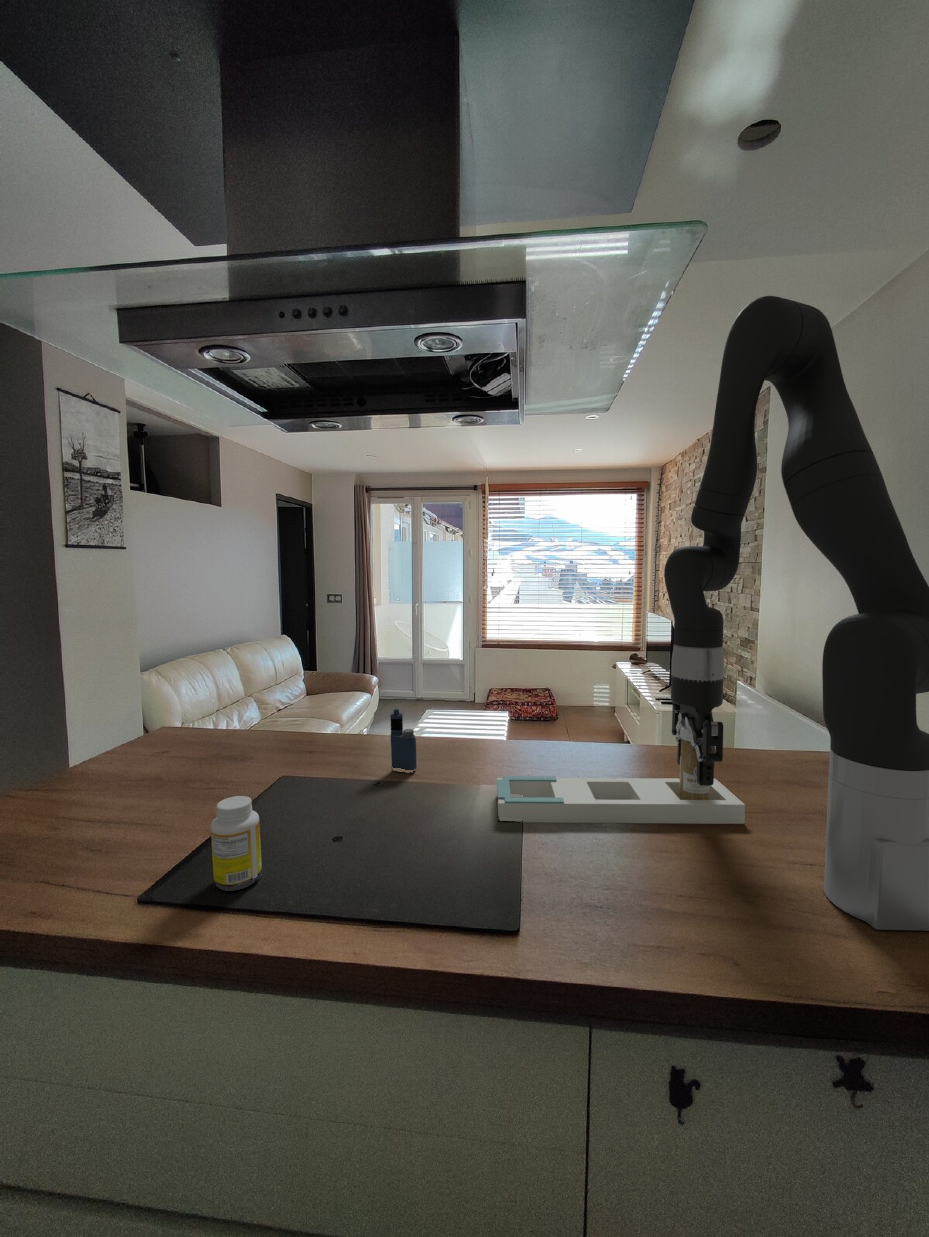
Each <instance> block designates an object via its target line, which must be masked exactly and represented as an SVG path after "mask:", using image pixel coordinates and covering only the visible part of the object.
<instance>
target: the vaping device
mask: <svg viewBox="0 0 929 1237" xmlns="http://www.w3.org/2000/svg"><path fill="white" fill-rule="evenodd" d="M403 716H404V715H403V713H400V709H399V708H395V709H393V713H390V716H389V717H390V748H391V750H390V752H391V753H390V754H391V755H390V756H391V758H390V759H391V768H392V767H393V768H401V769H405V770H414V769H416V770H417V768H418V767H417V738H416V735H415V733H414V729H413V728H412V729H411V728H407V729H406V728H405V729H404V727H403V726H404V724H403V723H404V722H403Z"/></svg>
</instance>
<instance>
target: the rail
mask: <svg viewBox="0 0 929 1237" xmlns="http://www.w3.org/2000/svg"><path fill="white" fill-rule="evenodd" d="M679 784H680V778H676V777H675V778H673V777H672V778H671V777H670V778H659V777H658V778H657V777H656V778H655V777H654V778H653V777H650V778H639V777H638V778H636V777H634V778H633V777H632V778H631V777H629V778H626V777H624V778H623V777H622V778H621V777H617V778H615V777H614V778H611V777H610V778H609V777H607V778H606V777H601V778H600V777H598V778H597V777H589V778H588V777H585V778H584V777H569V778H568V777H557V776H554V775H553V776H549V775H545V776H544V775H543V776H542V775H539V776H538V775H537V776H536V775H535V776H534V775H533V776H531V775H529V776H526V775H524V776H523V775H520V776H519V775H516V776H514V775H510V776H509V775H505V776H503V775H502V777H496V795H497V797H498V802H497V815H498V816H499V817H506V818H518V819H519V818H521V819H522V820H523V822H522V823H553V824H554V823H558V824H559V823H567V824H568V823H569V824H570V823H571V824H572V823H573V824H574V823H576V824H577V823H578V824H579V823H581V824H583V823H584V824H590V823H591V824H698V825H699V824H708V825H709V824H712V825H713V824H716V825H719V824H720V825H721V824H723V825H727V824H728V825H730V824H732V825H744V824H745V820H746V819H745V818H746V817H745V814H746V804H745V803H744V802H743V801H742V800H741V799H739V798H738V797H737V796H735V795H734V793H732V792H731V791H730V790H729V789H728V788H727V787H726V786H725V785H723V784H722V783H721V782H720V781H719V780H717V779H716V778H714V782H713V785H711V786H710V788H709V800H680V787H679ZM511 794H518V795H519V794H520V795H523V797H511ZM497 797H496V798H497ZM498 816H497V817H498Z"/></svg>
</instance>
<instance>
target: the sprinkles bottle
mask: <svg viewBox="0 0 929 1237" xmlns="http://www.w3.org/2000/svg"><path fill="white" fill-rule="evenodd" d="M680 737H681V756H680V765H679V779H680V784H679V787H680V800H709V788H710V786H701V785H699V784H698V783H697V760H698V758H697V753H696V749H695V747H693V746H692V745H691V741H690V736H689V731H688V729H687V728H686V725H682V726H681V727H680ZM697 739H698V740H703V738H697ZM702 752H703V747H702Z"/></svg>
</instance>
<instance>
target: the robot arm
mask: <svg viewBox="0 0 929 1237" xmlns="http://www.w3.org/2000/svg"><path fill="white" fill-rule="evenodd" d="M723 349H724V350H723V354H722V355H723V356H722V361H721V367H720V372H719V373H720V374H719V383H718V390H717V394H716V395H717V396H716V402H715V409H714V418H713V425H712V431H711V432H712V434H711V440H710V445H709V451H708V455H707V459H706V463H705V468H704V472H703V475H702V478H701V481H700V483H699V488H698V490H697V494H696V498H695V501H694V505H693V507H692V512H691V515H690V521H691V525H693V527H694V528H696V529H698V530H700V531H702V532H703V543H702V545H683V546H680V547H677V548H676V549H674V550H673V551H672V552H671V553H670V554H669V556H668V558H667V560H666V562H665V564H664V572H663V573H664V574H663V575H664V576H663V577H664V583H665V589H666V591H667V592H666V593H667V596H668V600H669V603H670V609H671V612H672V616H673V620H674V623H673V625H674V626H673V650H672V655H671V671H670V673H671V674H670V676H671V677H670V680H671V681H670V683H671V684H670V700H671V701H672V707H671V708H672V712H671V715H672V716H671V734H672V736H675V742H676V743H677V748H676V749H677V752H676V753H677V754H676V755H677V756H676V759H677V760H676V762H677V764H678V765H679V766H680V756H681V737H680V727H681V726H682V725H686V728H687V729H688V731H689V736H690V741H691V745H692V746H693V747H695V749H696V753H697V758H698V760H697V783H698V784H699V785H701V786H711V785H713V782H714V779H715V778H714V777H715V776H714V774H715V763H722V762H723V760H724V758H723V757H724V756H723V755H724V723H723V721H714V717H713V710H714V709H715V708H719V707H721V706H722V705H723V701H724V675H725V674H724V672H725V658H724V650H723V648H724V647H723V646H724V644H723V643H724V616H723V613H722V612H721V610H719V609H717V608H714V607H711V606H708V604H707V600H706V596H705V592H716V591H720V590H723V589H725V588H726V587H728V585H730V583H731V582H732V581H733V580H734V578H735V576H736V574H737V571H738V568H739V565H740V557H741V544H742V524H743V521H744V518H745V515H746V512H747V509H748V508H749V507H748V506H749V503H750V501H751V499H752V498H751V497H752V494H753V492H754V488H755V484H756V480H757V474H758V456H757V455H758V453H757V445H756V444H757V443H756V432H755V431H756V430H755V429H756V428H755V425H756V424H755V423H756V412H757V411H756V410H757V405H758V400H759V397H760V393H761V390H762V388H763V385H764V382H765V381H767V382H770V383H771V384H772V385H773V386H774V388H775V389H776V391H777V394H778V395H779V397H780V400H781V403H782V405H783V407H784V410H785V413H786V416H787V417H786V418H787V420H788V421H787V423H788V432H787V435H786V436H787V437H786V440H785V445H784V448H783V453H782V459H781V465H780V466H781V467H780V468H781V470H780V472H781V479H782V483H783V487H784V490H785V493H786V496H787V499H788V501H789V504H790V508H791V510H792V514H793V516H794V518H795V520H796V522H797V524H798V525H799V528H800V529H801V530H802V532H803V533H804V535H805V536H806V537H807V538H808V539H809V540H810V542H811V543H812V544H813V545H814V546H815V548H816V549H817V550H818V551H819V552H820V553H821V554H822V555H823V556H824V557H825V558H826V559H827V560H828V561H829V562H830V563H831V565H833V567H834V568H835V569H836V571H837V572H838V573H839V574H840V575H841V577H842V578H843V580H844V582H845V583H846V585H847V587H848V588H849V591H850V594H851V595H852V599H853V601H854V604H855V607H856V609H857V610H856V611H857V613H855V614H852V615H849V616H846V617H844V618H843V619H841V620H840V621H838V622H837V623H836V624H835V625H834V626H833V627H832V628H831V630H830V631H829V633H828V635H827V637H826V640H825V643H824V646H823V652H822V662H821V663H822V666H821V668H822V669H821V672H822V674H821V675H822V676H821V677H822V679H821V680H822V681H821V682H822V715H823V720H824V724H825V726H826V730H827V731H828V734H829V738H830V741H829V742H830V746H829V747H830V748H829V765H828V767H829V768H828V783H827V784H828V788H827V806H826V807H827V810H826V833H825V834H826V835H825V851H824V853H825V855H824V879H823V880H824V883H823V884H824V885H823V891H824V894H825V896H826V897H827V900H829V901H830V902H831V903H833V904H834V906H836V907H837V908H839V909H840V910H842V911H843V912H845V913H847V914H848V915H850V916H852V917H854V918H857V919H858V920H862V921H863V922H866V923H867V924H869V926H871V927H872V929H874V930H879V931H928V932H929V733H928V732H926V731H924V730H922V729H920V728H919V725H918V721H917V720H918V719H917V695H919V694H924V693H928V692H929V584H928V583H927V581H926V579H925V578H924V575H923V573H922V571H921V570H920V567H919V566H918V563H917V561H916V559H915V557H914V555H913V552H912V550H911V547H910V544H909V541H908V539H907V537H906V534H905V531H904V529H903V526H902V524H901V522H900V519H899V517H898V514H897V512H896V509H895V507H894V505H893V502H892V500H891V499H892V498H891V496H890V494H889V492H888V488H887V486H886V482H885V479H884V475H883V473H882V471H881V469H880V466H879V463H878V461H877V458H876V456H875V453H874V452H873V449H872V447H871V445H870V443H869V440H868V438H867V435H866V434H865V432H864V429H863V427H862V424H861V421H860V418H859V416H858V414H857V413H858V412H857V411H856V408H855V406H854V404H853V401H852V399H851V396H850V395H849V392H848V389H847V386H846V382H845V379H844V375H843V371H842V367H841V363H840V359H839V354H838V350H837V345H836V342H835V337H834V333H833V331H832V327H831V324H830V321H829V319H828V317H827V316H826V315H825V314H824V312H822V310H820V309H819V308H817V307H815V306H813V305H810V304H806V303H802V302H799V301H796V300H792V299H789V298H785V297H780V296H776V295H764V296H760V297H758V298H756V299H754V300H752V301H750V302H749V303H748V304H747V305H746V306H744V307H743V309H742V310H741V311H740V312H739V313H738V314H737V315H736V317H735V319H734V321H733V322H732V325H731V327H730V329H729V331H728V334H727V337H726V341H725V345H724V348H723ZM697 738H703V740H698V739H697ZM702 747H703V752H702Z"/></svg>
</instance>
